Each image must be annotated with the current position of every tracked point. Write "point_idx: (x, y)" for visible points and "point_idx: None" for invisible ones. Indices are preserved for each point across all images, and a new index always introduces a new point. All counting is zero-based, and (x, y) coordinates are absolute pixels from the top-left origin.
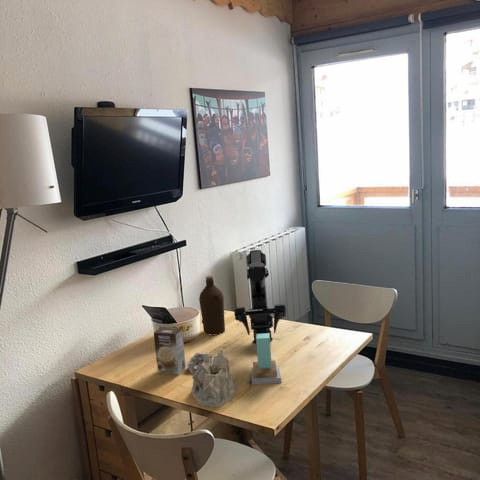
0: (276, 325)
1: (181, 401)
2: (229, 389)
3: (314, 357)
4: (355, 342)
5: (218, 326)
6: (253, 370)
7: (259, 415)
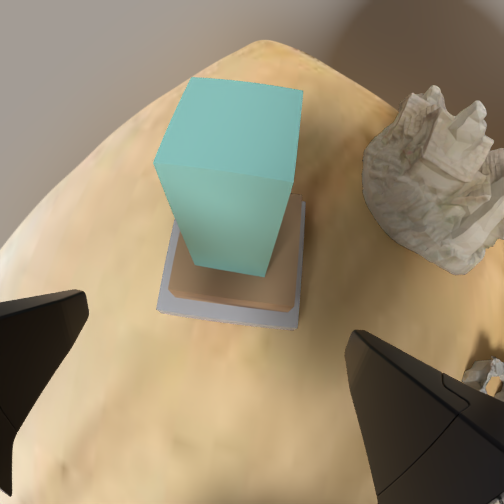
0: (19, 302)
1: None
2: (382, 138)
3: None
4: None
5: None
6: (299, 206)
7: (290, 66)
